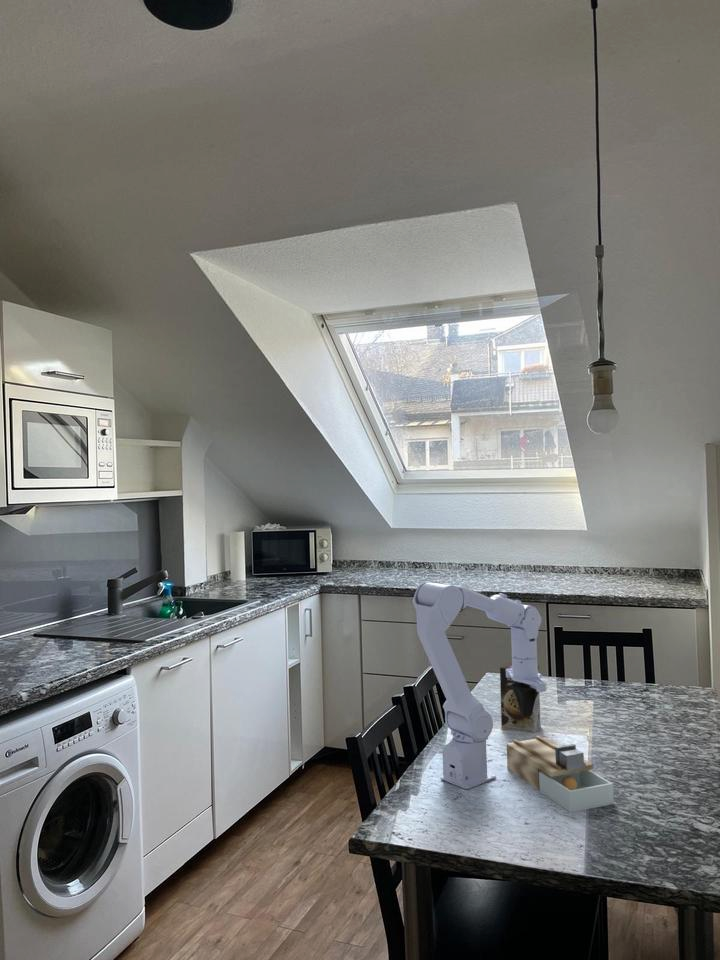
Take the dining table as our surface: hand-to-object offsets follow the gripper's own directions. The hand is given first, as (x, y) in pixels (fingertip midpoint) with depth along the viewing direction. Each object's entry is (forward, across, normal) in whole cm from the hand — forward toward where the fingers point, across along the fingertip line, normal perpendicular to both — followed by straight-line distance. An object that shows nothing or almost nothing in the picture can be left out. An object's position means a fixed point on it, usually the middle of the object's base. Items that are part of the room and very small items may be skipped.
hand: (526, 715), depth 172 cm
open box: (+10, -21, +2) cm, 24 cm away
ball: (+8, -19, +2) cm, 21 cm away
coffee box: (+11, +21, -10) cm, 26 cm away
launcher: (+10, -10, +2) cm, 15 cm away
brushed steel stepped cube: (+5, -19, +2) cm, 20 cm away
